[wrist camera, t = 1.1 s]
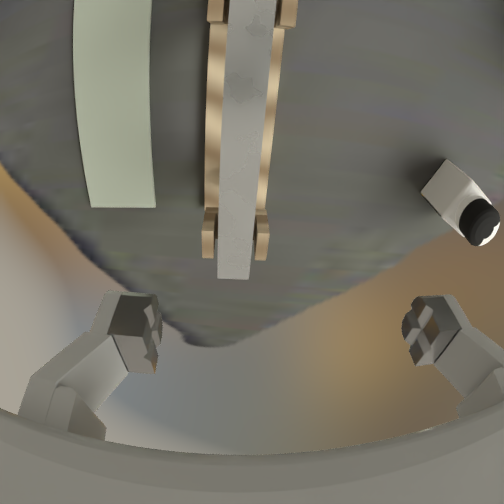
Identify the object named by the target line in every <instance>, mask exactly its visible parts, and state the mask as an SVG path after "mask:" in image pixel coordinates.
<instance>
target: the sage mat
mask: <svg viewBox="0 0 504 504" xmlns="http://www.w3.org/2000/svg"><path fill="white" fill-rule="evenodd" d="M151 9H152V0H75V1H74V21H73V66H74V87H75V100H76V112H77V122H78V130H79V138H80V146H81V153H82V159H83V165H84V171H85V177H86V183H87V188H88V193H89V198H90V203H91V207H140V208H155V207H156V201H155V190H154V178H153V164H152V148H151V128H150V90H149V64H150V28H151Z"/></svg>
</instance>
